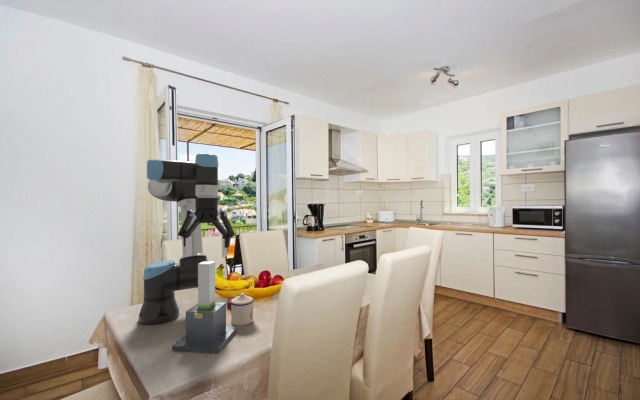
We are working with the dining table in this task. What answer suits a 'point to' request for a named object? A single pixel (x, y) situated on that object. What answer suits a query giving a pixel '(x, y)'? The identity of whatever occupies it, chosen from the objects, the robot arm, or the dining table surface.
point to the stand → (205, 330)
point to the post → (206, 285)
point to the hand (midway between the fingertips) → (206, 256)
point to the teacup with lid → (242, 310)
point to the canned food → (230, 301)
